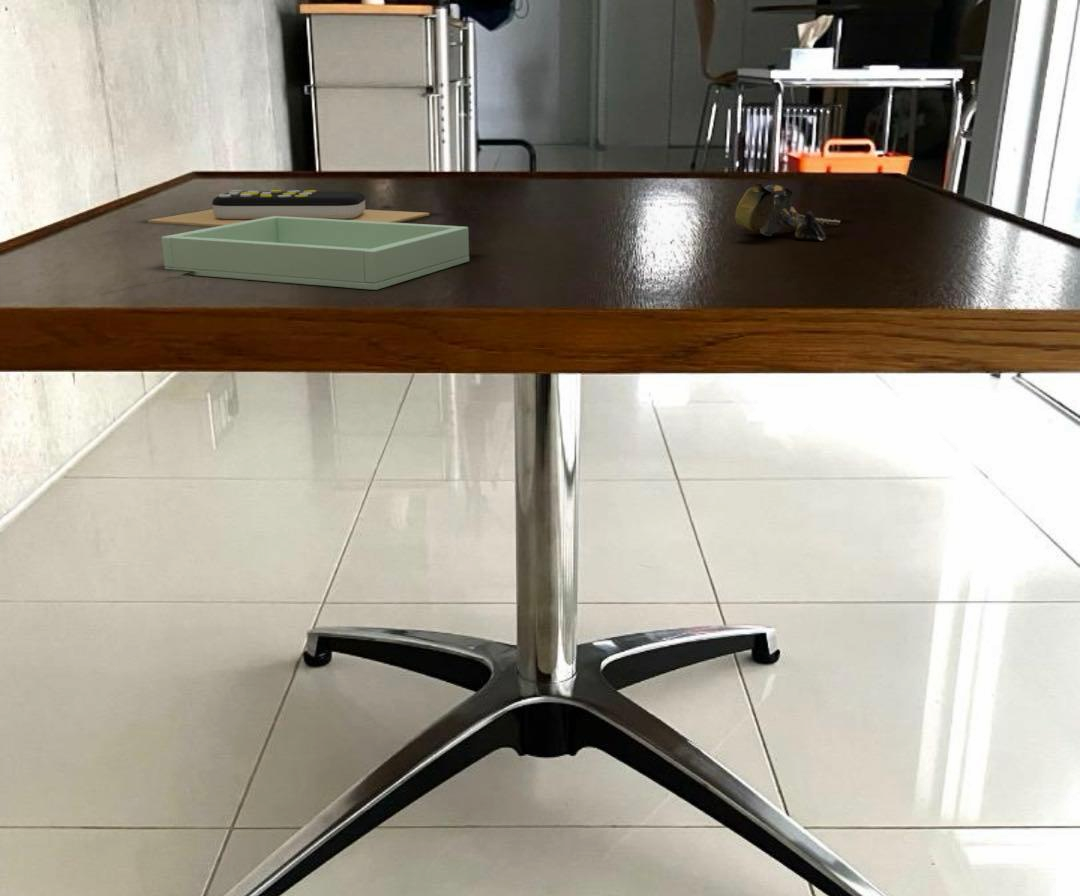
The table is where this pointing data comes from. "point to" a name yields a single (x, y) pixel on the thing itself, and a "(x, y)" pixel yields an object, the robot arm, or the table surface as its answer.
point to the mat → (211, 220)
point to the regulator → (776, 213)
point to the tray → (318, 251)
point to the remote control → (288, 204)
